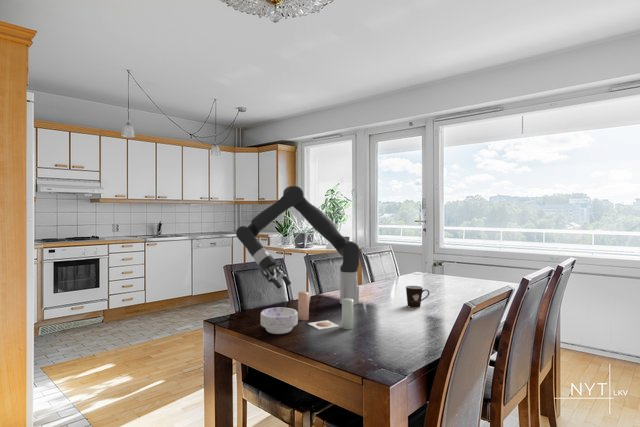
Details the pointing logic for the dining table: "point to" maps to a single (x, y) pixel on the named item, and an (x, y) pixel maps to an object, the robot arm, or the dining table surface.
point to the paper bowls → (279, 319)
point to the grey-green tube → (347, 313)
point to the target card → (323, 325)
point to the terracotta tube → (303, 305)
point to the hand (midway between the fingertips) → (285, 286)
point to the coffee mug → (415, 295)
